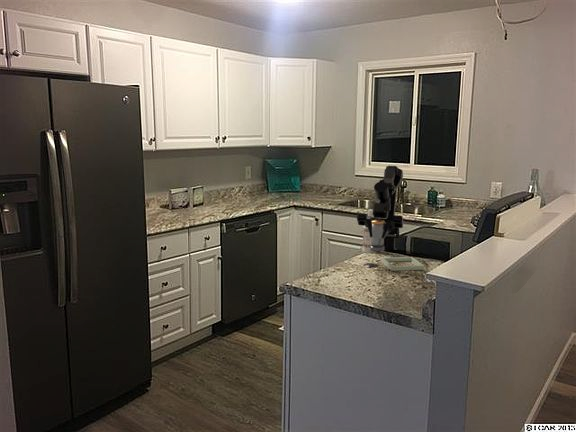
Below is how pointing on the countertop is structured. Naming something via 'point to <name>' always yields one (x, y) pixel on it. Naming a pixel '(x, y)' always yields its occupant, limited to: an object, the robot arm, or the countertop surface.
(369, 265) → the stud
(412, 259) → the bin
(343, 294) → the countertop surface
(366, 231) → the bath foam
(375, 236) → the grey and gold cylinder
